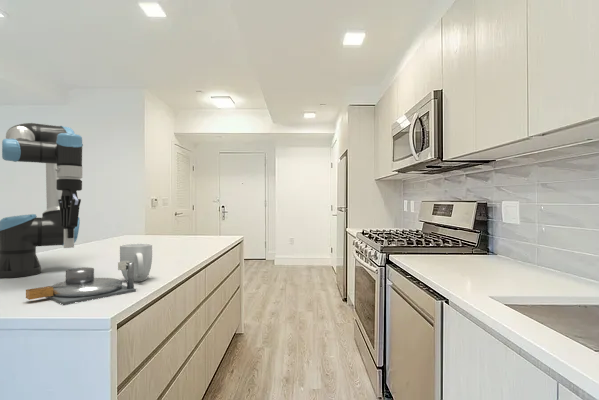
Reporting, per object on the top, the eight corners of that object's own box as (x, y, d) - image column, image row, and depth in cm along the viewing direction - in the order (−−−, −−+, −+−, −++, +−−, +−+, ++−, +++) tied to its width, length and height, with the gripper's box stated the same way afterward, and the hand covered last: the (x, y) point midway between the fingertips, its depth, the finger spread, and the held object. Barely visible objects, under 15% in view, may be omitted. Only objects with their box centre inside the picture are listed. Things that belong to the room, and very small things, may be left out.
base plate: (37, 293, 117) (37, 290, 117) (105, 282, 134) (105, 280, 134) (63, 305, 104) (63, 302, 104) (135, 291, 121) (135, 288, 121)
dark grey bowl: (61, 282, 122) (61, 269, 122) (87, 278, 128) (87, 266, 128) (71, 285, 117) (71, 272, 117) (98, 281, 123) (98, 269, 123)
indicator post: (113, 290, 121) (114, 261, 121) (127, 288, 125) (128, 260, 125) (120, 293, 119) (121, 263, 119) (135, 290, 122) (135, 261, 122)
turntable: (16, 293, 113) (16, 285, 113) (105, 279, 133) (105, 272, 133) (39, 305, 100) (40, 296, 100) (133, 288, 121) (133, 280, 121)
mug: (157, 283, 133) (157, 246, 133) (123, 286, 127) (124, 248, 127) (148, 276, 146) (148, 242, 146) (117, 279, 140) (117, 244, 140)
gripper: (49, 179, 130) (49, 247, 129) (64, 177, 122) (64, 250, 121) (73, 180, 136) (73, 245, 135) (89, 178, 128) (88, 248, 127)
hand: (68, 247), depth 128 cm, fingers closed
